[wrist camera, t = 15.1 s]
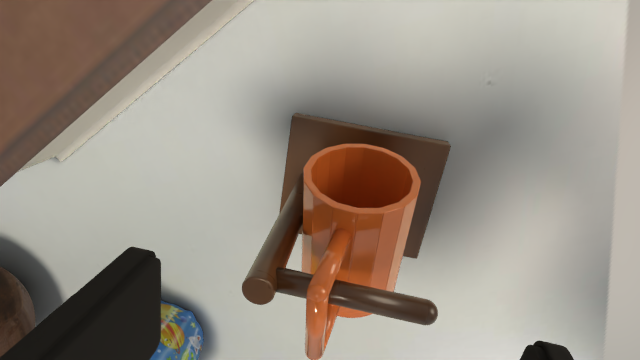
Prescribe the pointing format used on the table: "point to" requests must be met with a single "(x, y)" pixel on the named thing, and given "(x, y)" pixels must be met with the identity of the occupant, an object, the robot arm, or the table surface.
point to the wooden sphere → (14, 311)
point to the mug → (352, 227)
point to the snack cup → (178, 334)
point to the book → (87, 66)
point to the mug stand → (278, 246)
